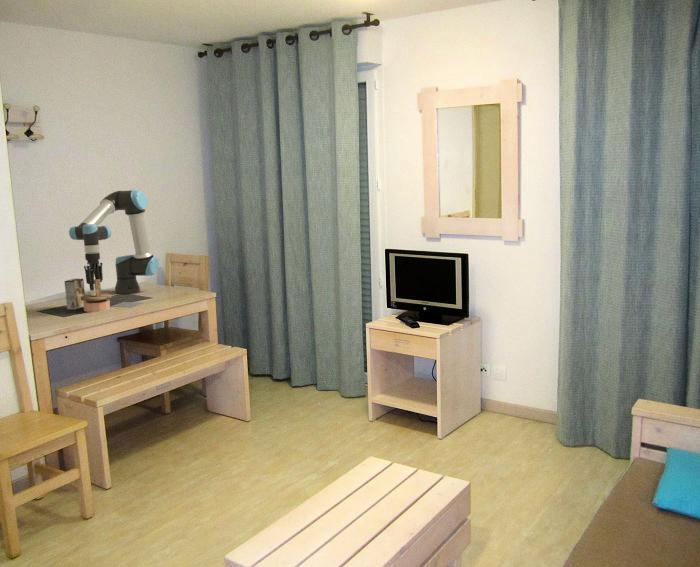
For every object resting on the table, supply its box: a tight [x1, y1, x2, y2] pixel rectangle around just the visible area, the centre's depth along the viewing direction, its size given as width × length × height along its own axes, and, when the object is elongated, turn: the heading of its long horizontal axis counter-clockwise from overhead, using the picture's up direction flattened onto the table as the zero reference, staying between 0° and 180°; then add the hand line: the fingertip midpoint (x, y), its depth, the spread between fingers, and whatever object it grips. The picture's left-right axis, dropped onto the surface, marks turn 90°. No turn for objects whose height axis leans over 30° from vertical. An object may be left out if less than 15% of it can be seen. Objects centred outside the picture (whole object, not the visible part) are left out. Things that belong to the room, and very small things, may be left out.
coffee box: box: [64, 278, 86, 310], centre depth 386 cm, size 9×6×16 cm
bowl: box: [83, 298, 111, 313], centre depth 380 cm, size 13×13×5 cm
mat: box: [110, 301, 144, 309], centre depth 391 cm, size 14×14×1 cm
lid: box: [81, 278, 113, 301], centre depth 378 cm, size 16×16×10 cm
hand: (95, 294), depth 379 cm, fingers closed on lid, 4 cm apart
